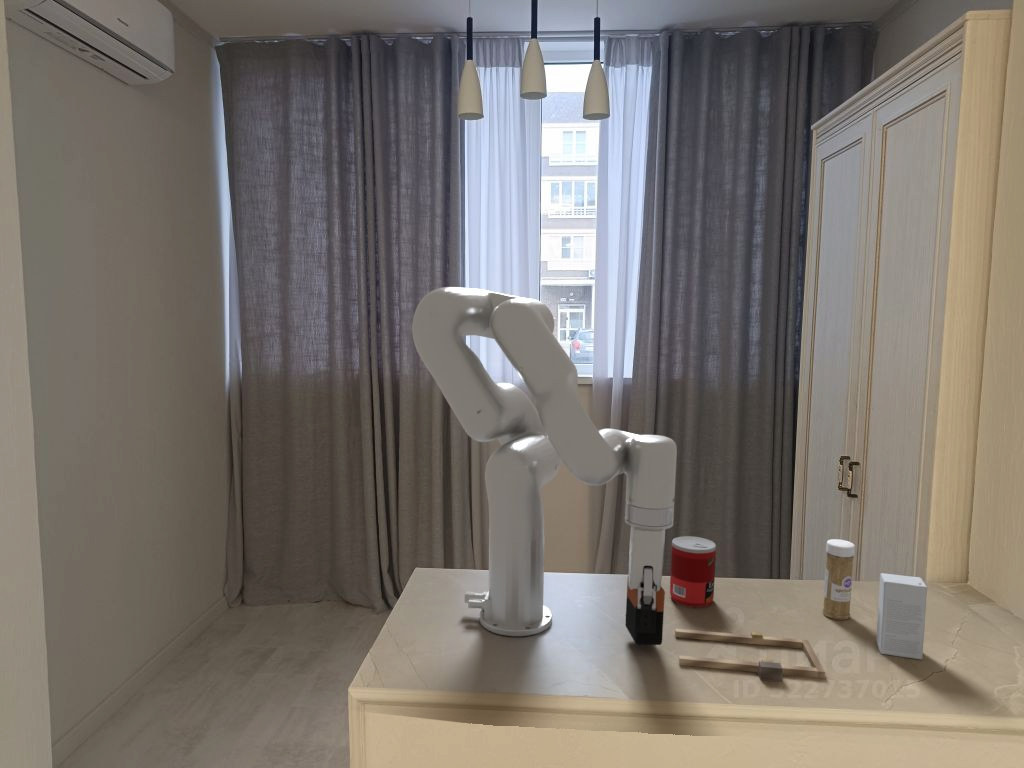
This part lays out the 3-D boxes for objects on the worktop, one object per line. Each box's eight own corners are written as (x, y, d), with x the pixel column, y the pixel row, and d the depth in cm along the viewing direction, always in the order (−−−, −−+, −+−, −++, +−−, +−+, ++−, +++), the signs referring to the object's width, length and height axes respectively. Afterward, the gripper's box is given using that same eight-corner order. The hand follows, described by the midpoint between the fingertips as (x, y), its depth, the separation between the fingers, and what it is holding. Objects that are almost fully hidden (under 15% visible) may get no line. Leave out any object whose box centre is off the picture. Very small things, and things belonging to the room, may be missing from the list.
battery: (650, 625, 114) (653, 568, 113) (662, 646, 108) (666, 584, 107) (624, 626, 114) (627, 568, 113) (635, 646, 107) (638, 585, 106)
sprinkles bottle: (841, 623, 120) (846, 548, 118) (816, 613, 123) (821, 541, 122) (855, 616, 122) (860, 543, 121) (830, 607, 126) (835, 536, 125)
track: (680, 671, 103) (680, 659, 103) (674, 634, 115) (675, 622, 115) (828, 686, 100) (829, 673, 99) (807, 645, 112) (808, 634, 111)
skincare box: (916, 648, 111) (922, 577, 110) (922, 660, 107) (928, 587, 106) (874, 641, 113) (879, 571, 112) (879, 654, 109) (884, 581, 108)
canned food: (715, 610, 125) (718, 551, 123) (670, 605, 126) (672, 547, 125) (711, 593, 132) (714, 537, 131) (669, 589, 134) (671, 534, 132)
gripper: (625, 497, 118) (621, 595, 120) (624, 529, 101) (620, 644, 103) (670, 500, 116) (665, 599, 118) (677, 533, 99) (671, 649, 101)
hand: (644, 619), depth 111 cm, fingers closed on battery, 7 cm apart
